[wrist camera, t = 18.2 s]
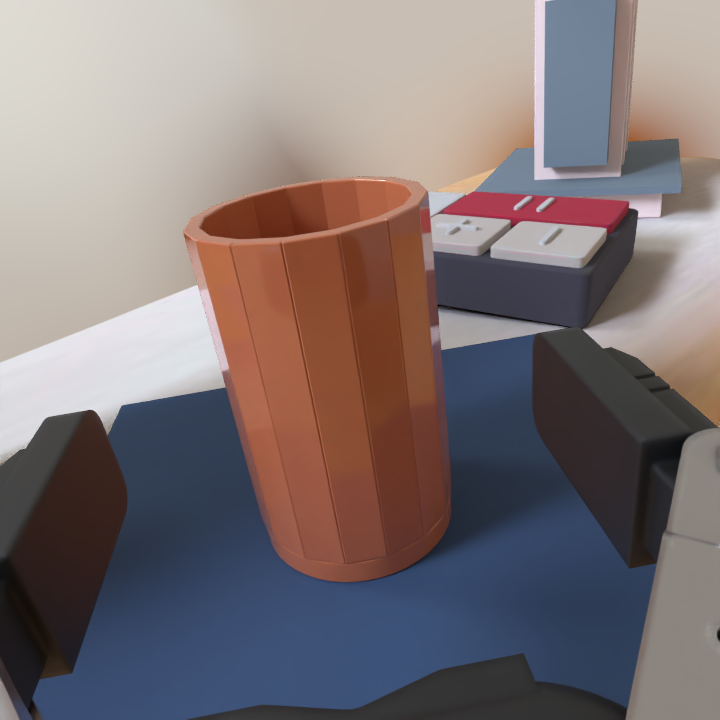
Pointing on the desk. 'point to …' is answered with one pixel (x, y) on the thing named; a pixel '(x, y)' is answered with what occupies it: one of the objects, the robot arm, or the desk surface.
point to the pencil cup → (333, 367)
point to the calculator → (529, 253)
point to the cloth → (347, 599)
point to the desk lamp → (588, 114)
